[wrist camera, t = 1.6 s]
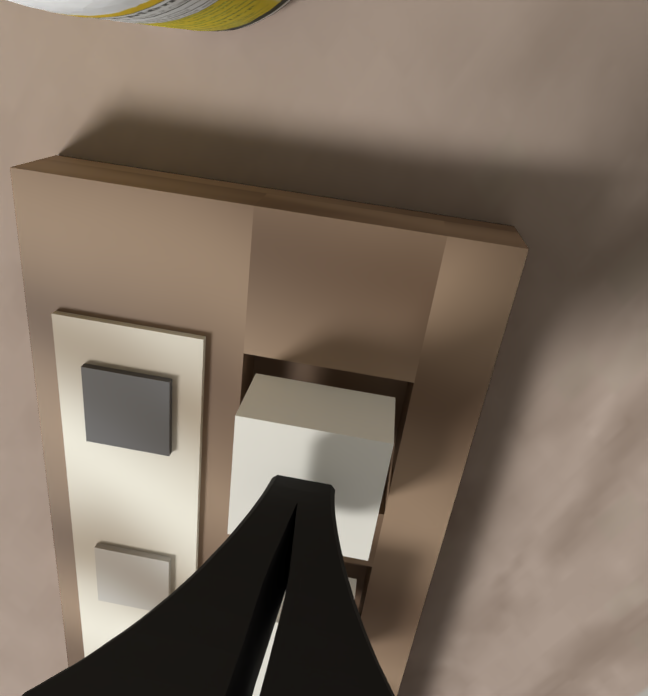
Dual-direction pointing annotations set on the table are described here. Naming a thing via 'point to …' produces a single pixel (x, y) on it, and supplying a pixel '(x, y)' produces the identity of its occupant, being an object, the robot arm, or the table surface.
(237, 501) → the button
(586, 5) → the table surface
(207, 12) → the supplement bottle
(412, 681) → the table surface
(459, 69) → the table surface
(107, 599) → the button board
